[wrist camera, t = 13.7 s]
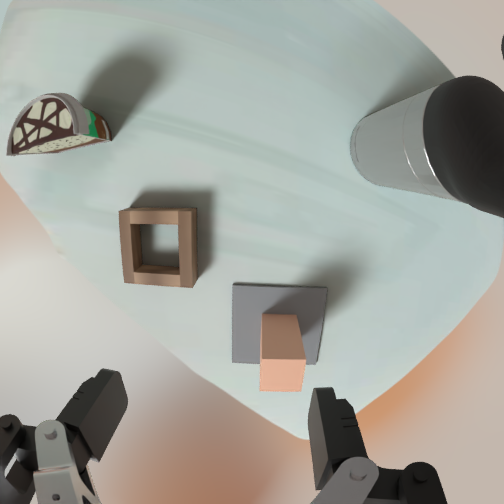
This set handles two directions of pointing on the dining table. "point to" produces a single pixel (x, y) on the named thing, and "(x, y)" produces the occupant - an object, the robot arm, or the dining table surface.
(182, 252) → the walnut pocket
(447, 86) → the robot arm
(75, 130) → the food container
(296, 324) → the terracotta block
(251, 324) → the rubber mat
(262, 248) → the dining table surface
